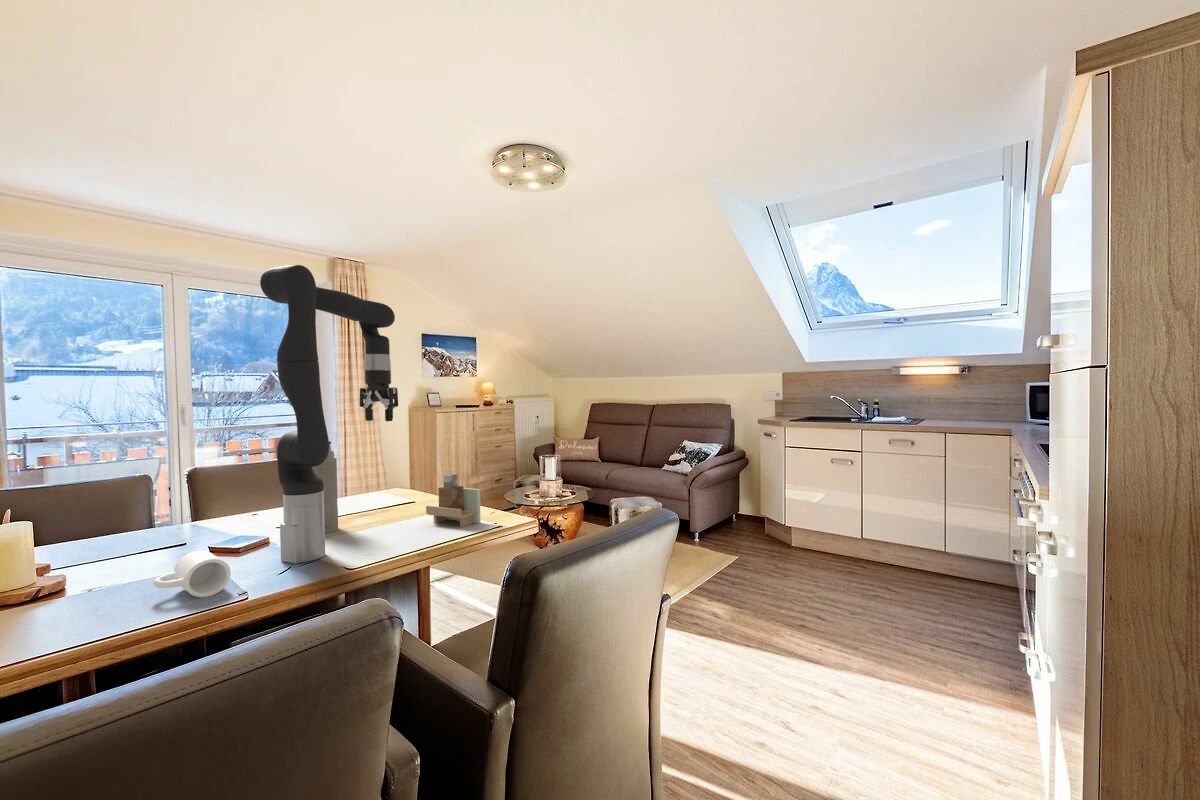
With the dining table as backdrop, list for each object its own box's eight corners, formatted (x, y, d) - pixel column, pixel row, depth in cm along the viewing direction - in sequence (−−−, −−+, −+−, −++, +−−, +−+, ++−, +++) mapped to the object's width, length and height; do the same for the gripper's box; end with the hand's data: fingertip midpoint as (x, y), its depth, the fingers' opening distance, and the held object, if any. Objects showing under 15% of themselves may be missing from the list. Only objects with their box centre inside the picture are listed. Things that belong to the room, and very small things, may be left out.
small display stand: (462, 529, 160) (462, 494, 160) (424, 524, 167) (423, 490, 167) (480, 522, 168) (479, 489, 168) (442, 518, 175) (442, 485, 174)
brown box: (452, 514, 163) (452, 476, 163) (438, 512, 166) (437, 475, 166) (463, 510, 168) (463, 473, 168) (449, 508, 171) (448, 472, 170)
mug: (218, 580, 119) (216, 546, 118) (231, 590, 112) (230, 554, 112) (149, 597, 109) (148, 560, 109) (160, 609, 103) (159, 570, 103)
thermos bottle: (308, 535, 156) (305, 443, 155) (310, 529, 163) (308, 441, 162) (337, 531, 159) (335, 441, 158) (338, 525, 166) (336, 439, 166)
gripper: (351, 369, 160) (352, 421, 160) (384, 368, 154) (385, 422, 154) (371, 370, 167) (372, 420, 167) (404, 368, 161) (405, 420, 161)
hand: (379, 421), depth 161 cm, fingers open, 8 cm apart
